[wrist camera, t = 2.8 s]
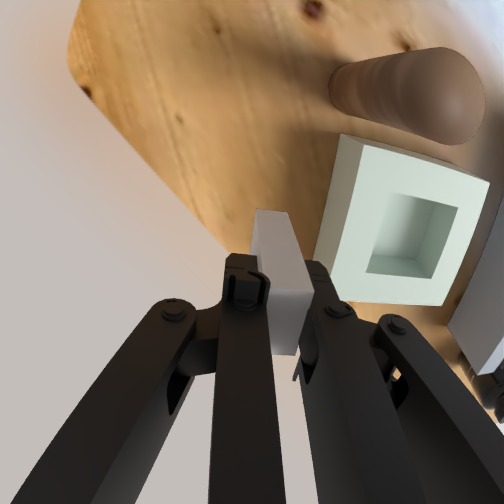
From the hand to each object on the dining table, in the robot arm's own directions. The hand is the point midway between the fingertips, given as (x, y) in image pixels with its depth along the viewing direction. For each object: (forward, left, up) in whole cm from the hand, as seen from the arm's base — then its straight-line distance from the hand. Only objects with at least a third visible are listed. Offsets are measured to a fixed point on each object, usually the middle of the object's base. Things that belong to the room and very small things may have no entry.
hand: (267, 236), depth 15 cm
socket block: (+1, +11, -9) cm, 14 cm away
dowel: (-8, +6, -9) cm, 13 cm away
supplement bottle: (+17, +33, -9) cm, 38 cm away
